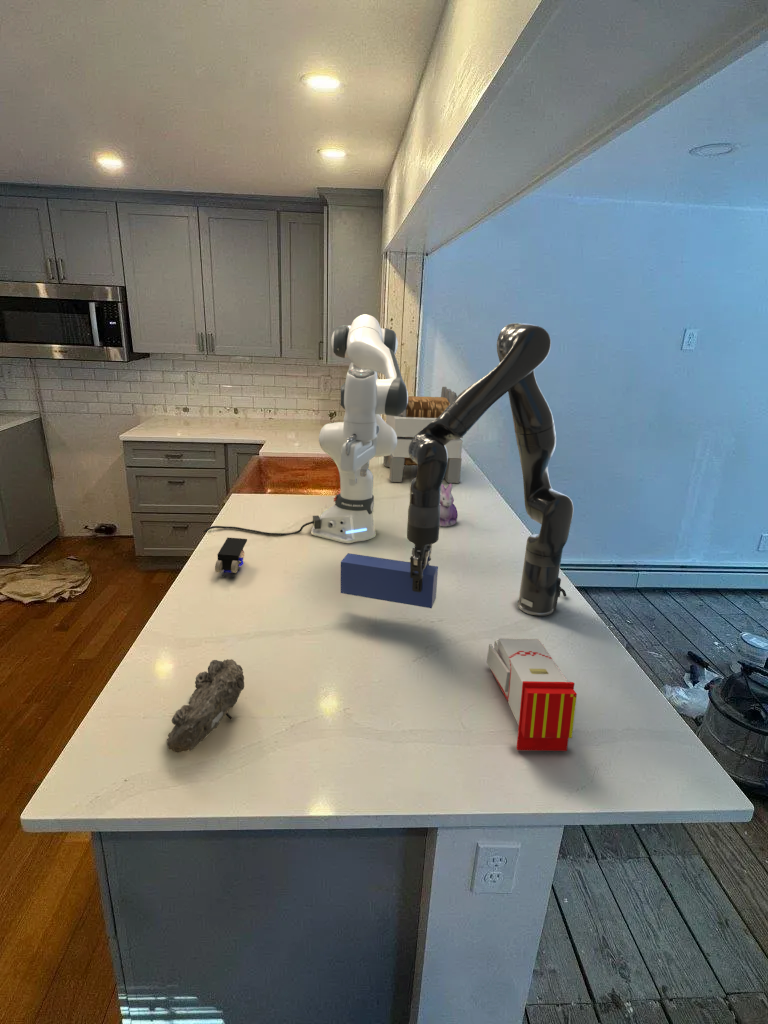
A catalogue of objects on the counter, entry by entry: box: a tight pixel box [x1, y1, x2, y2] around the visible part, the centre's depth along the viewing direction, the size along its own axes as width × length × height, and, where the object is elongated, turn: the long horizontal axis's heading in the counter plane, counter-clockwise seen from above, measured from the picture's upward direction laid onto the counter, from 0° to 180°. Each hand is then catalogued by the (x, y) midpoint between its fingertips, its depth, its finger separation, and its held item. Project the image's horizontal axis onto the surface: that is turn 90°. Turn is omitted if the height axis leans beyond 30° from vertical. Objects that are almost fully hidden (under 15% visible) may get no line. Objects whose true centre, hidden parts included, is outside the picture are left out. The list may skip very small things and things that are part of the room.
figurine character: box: [214, 537, 248, 578], centre depth 166 cm, size 7×8×15 cm
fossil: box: [166, 658, 245, 754], centre depth 106 cm, size 22×10×15 cm
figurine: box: [439, 483, 459, 527], centre depth 210 cm, size 9×10×15 cm
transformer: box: [383, 386, 464, 484], centre depth 268 cm, size 34×33×41 cm
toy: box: [486, 637, 578, 752], centre depth 114 cm, size 12×13×30 cm
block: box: [340, 552, 439, 609], centre depth 140 cm, size 23×6×9 cm, turn 74°
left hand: (358, 480), depth 157 cm, fingers open, 8 cm apart
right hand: (419, 585), depth 138 cm, fingers closed on block, 5 cm apart
